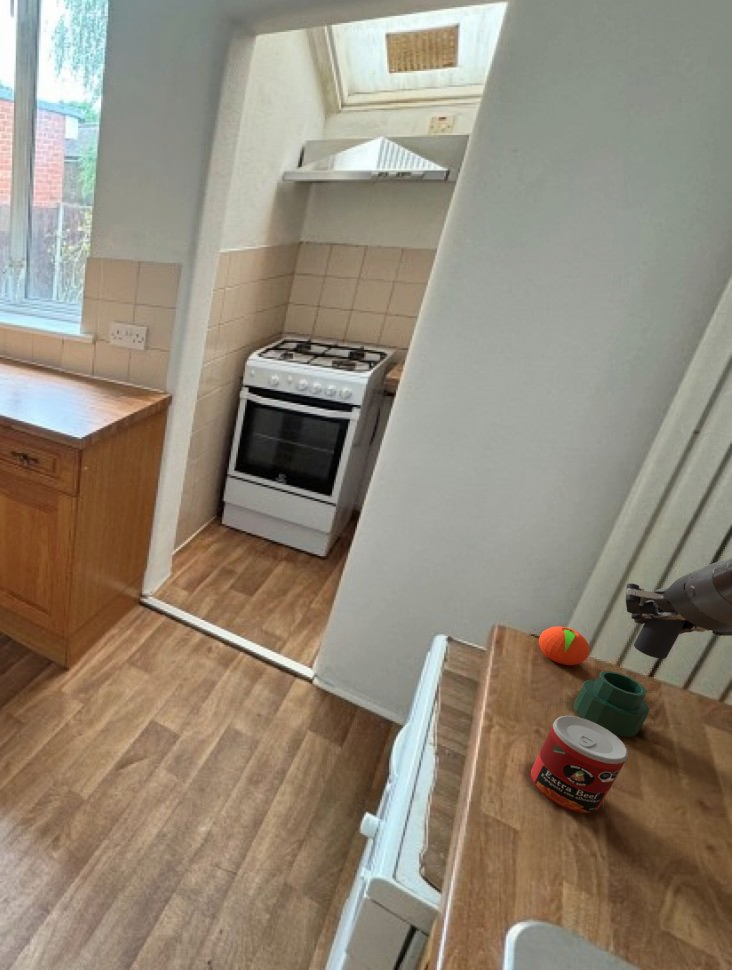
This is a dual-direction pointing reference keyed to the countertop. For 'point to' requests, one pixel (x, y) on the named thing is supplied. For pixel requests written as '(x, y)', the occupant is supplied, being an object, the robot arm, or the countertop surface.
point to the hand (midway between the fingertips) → (656, 621)
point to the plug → (658, 637)
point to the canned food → (578, 764)
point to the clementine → (564, 645)
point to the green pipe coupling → (613, 703)
